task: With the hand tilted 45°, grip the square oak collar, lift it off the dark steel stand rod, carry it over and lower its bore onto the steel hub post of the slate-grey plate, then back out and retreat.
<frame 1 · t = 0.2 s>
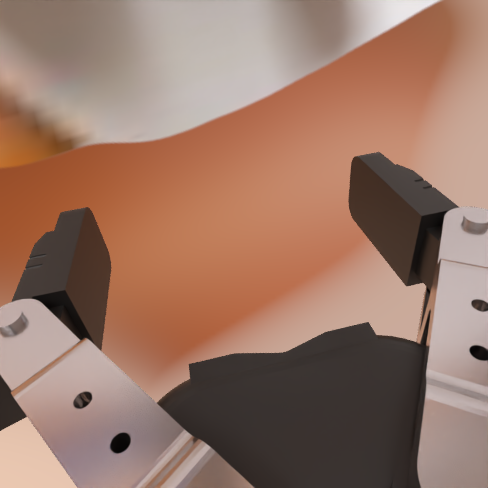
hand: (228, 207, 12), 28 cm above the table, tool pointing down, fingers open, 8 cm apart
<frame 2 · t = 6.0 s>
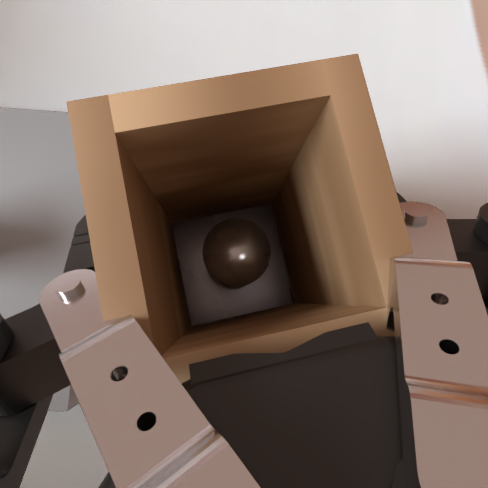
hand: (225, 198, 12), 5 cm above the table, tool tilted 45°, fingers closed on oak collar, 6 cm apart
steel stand: (231, 265, 17), on the table
oak collar: (232, 263, 16), point 1 cm above the table, touching gripper, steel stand
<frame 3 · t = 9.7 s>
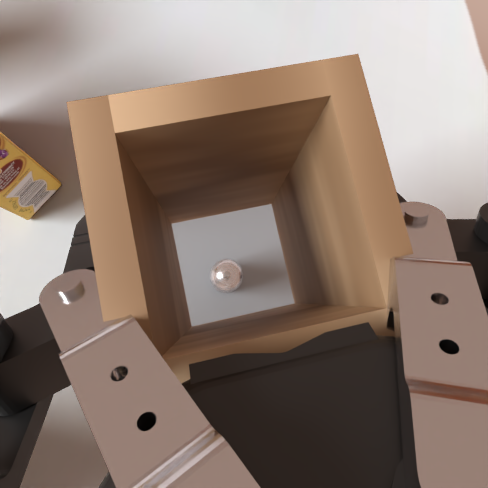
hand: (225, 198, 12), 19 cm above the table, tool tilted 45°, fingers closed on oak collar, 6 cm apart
candy box: (7, 168, 31), on the table
oak collar: (232, 263, 16), point 14 cm above the table, touching gripper
hub plate: (225, 279, 31), on the table
when the fingers open (7 cm above the table, at t = 13.2 s): oak collar drops 1 cm, resting on hub plate.
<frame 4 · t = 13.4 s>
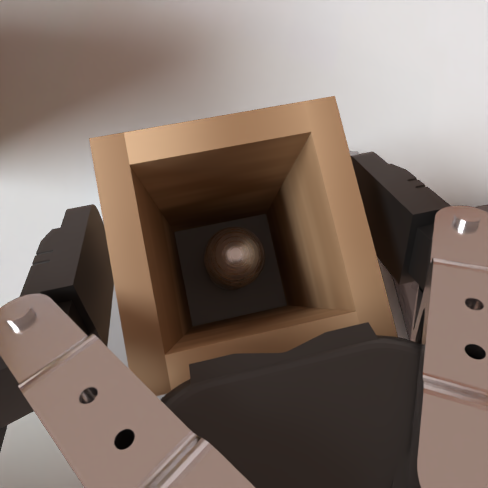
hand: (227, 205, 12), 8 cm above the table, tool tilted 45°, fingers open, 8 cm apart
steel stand: (460, 280, 20), on the table
oak collar: (230, 268, 18), point 1 cm above the table, touching hub plate
hub plate: (230, 269, 19), on the table
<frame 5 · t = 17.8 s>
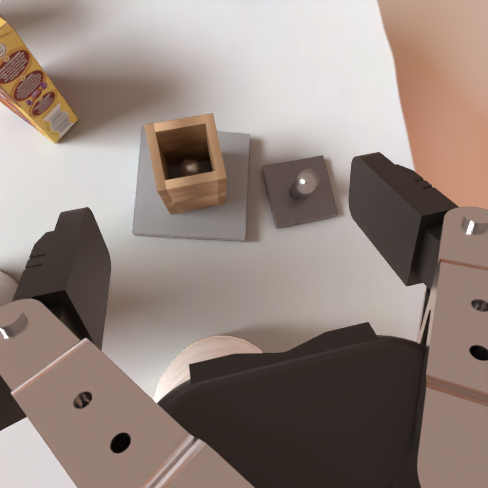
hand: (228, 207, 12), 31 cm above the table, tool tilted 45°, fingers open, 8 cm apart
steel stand: (298, 192, 44), on the table
honey pot: (221, 397, 40), on the table
candy box: (39, 108, 44), on the table
oak collar: (192, 182, 42), point 1 cm above the table, touching hub plate
hub plate: (193, 186, 43), on the table
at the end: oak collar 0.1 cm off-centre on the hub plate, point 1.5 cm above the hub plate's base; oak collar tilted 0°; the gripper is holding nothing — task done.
